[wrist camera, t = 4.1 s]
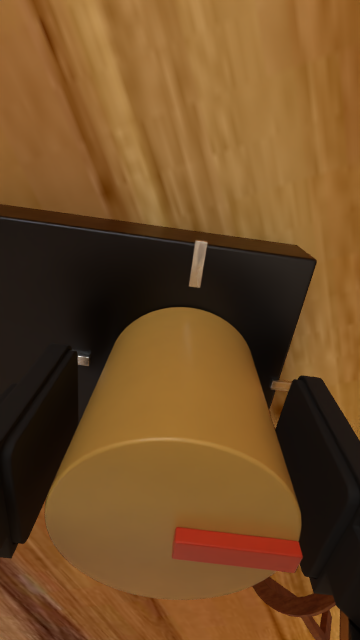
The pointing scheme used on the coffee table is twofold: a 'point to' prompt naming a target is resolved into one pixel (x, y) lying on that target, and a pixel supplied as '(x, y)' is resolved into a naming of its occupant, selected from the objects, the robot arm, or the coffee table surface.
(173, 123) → the coffee table surface
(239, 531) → the tan dial knob
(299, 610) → the glasses
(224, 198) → the coffee table surface
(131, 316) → the panel
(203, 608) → the coffee table surface
